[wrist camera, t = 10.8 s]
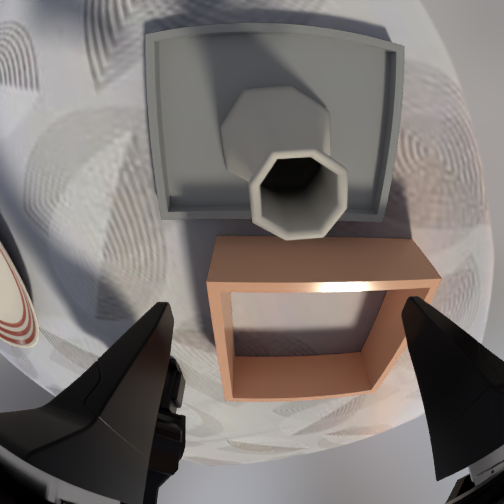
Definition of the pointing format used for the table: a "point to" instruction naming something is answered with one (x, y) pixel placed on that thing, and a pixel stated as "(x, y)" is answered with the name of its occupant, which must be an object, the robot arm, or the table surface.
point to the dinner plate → (15, 307)
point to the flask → (285, 161)
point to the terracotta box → (315, 280)
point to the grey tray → (267, 75)
